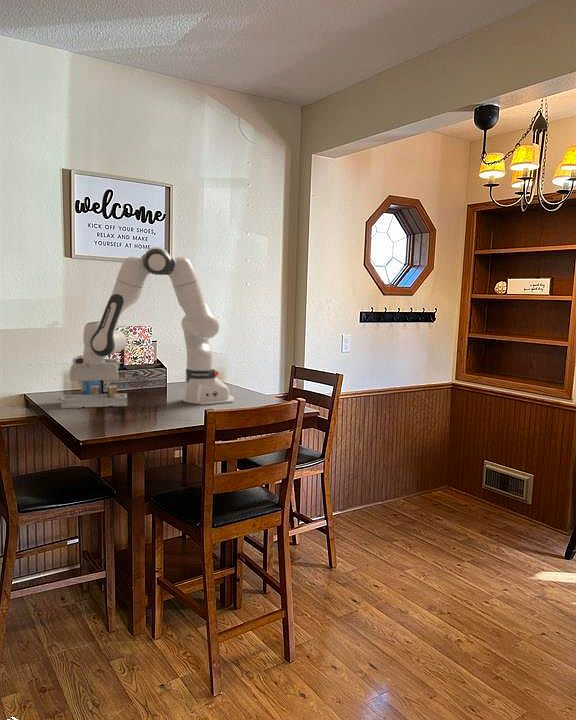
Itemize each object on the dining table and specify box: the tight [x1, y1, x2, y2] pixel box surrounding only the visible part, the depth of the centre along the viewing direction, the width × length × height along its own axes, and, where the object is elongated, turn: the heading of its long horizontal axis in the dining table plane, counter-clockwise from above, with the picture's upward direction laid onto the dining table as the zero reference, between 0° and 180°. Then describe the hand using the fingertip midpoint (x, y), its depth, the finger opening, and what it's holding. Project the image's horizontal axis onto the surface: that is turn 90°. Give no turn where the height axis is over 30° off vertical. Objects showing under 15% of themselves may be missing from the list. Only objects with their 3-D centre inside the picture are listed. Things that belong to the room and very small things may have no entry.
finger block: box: [91, 386, 100, 394], centre depth 250 cm, size 4×5×6 cm
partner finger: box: [107, 384, 118, 398], centre depth 243 cm, size 4×5×6 cm
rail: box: [60, 393, 128, 409], centre depth 241 cm, size 26×10×4 cm, turn 107°
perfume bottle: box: [81, 380, 102, 395], centre depth 258 cm, size 6×6×12 cm
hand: (94, 390), depth 249 cm, fingers open, 8 cm apart
